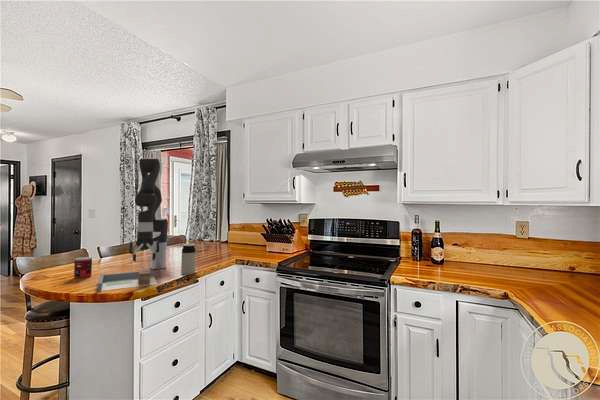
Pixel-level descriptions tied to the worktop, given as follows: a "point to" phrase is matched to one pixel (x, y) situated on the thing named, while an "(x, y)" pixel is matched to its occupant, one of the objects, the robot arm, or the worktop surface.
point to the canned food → (82, 267)
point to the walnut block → (144, 277)
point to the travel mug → (188, 259)
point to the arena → (121, 280)
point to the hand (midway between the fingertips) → (144, 260)
